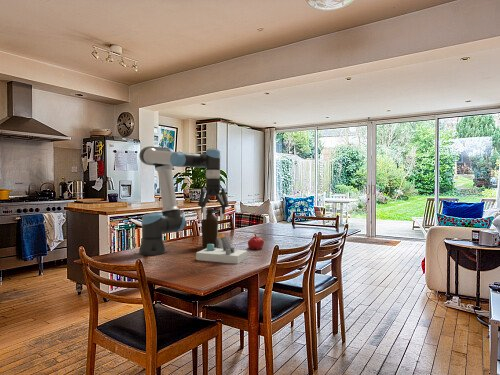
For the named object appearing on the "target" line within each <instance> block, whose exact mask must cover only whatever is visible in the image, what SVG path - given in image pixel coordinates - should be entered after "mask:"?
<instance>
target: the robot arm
mask: <svg viewBox="0 0 500 375" xmlns="http://www.w3.org/2000/svg"><path fill="white" fill-rule="evenodd" d="M138 157H139V160H140V161H141V162H142V163H143V164H144V165H147V166H154V170H155V171H156V172H157V175H158V181H159V182H158V183H159V189H160V196H161V204H162V210H161V211H156V212H148V213H145V214H143V215H142V216H141V217H142V218H141V243H140V246H139V248H138V254H139V255H141V254H142V256H156V255H163V254H165V253H166V252H167V249H166V245H165V242H164V239H163V238H164V237H163V235H164V234H169V233H170V234H171V233H178V232H181V231H182V230H183V229H185V225H186V216H185V214H184V213H183V212H181V209H180V208H179V207H178V204H177V196H176V190H175V183H174V176H173V169H174V167H177V168H197V169H198V168H199V169H200V168H205V170H206V171H205V174H206V175H205V177H206V179H205V187H202V188H201V187H200V195H199V199H198V204H197V206H198V207H200V208H201V209H200V211H201V214H202V219H206V214H207V206H206V205H207V203H208V202H209V199H210V197H211V196H215V198H217V201H218V203H219V205H220V206H221V207H220V209H219V210H220V213H219V218H220V221H223V220H224V219H225V218H224V216H225V215H224V214H226V208H227V207H229V206H230V205H229V201H228V198H227V193H226V192H227V191H226V190H227V189H226V188H222V187H221V151H220V150H219V149H217V148H208V149H207V148H206V150H205V153H193V152H192V153H191V152H183V151H182V152H181V151H174V150H173V149H172V148H171V147H170V148H169V147H166V146H165V147H164V146H163V147H160V146H145V147H143V148H142V149H141V150H140V151H139V156H138ZM220 192H221V194H220ZM205 193H206V194H205Z"/></svg>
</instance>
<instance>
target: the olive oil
mask: <svg viewBox="0 0 500 375" xmlns="http://www.w3.org/2000/svg"><path fill="white" fill-rule="evenodd" d="M200 223H201V224H200V225H201V238H202V239H201V241H202V242H201V244H202V248H204V249H206V248H207V244H214V248H217V246H216V241H215V240H217V239H218V231H219V229H218V228H219V222H218V218H217V217H216V216H215V214H214V213H213V208H212V207H206V219H203V218H202V220H201V222H200Z"/></svg>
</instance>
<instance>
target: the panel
mask: <svg viewBox="0 0 500 375" xmlns="http://www.w3.org/2000/svg"><path fill="white" fill-rule="evenodd" d="M231 249H232V252H231ZM231 249H226V250H223V249H219V248H217V247H214V251H207V248H204V249H202V250H199V251H197V252H196V253H195V257H196V259H195V260H196V261H203V262H204V261H205V262H214V263H225V264H236V265H238V264H241V262H243V261H245V260H246V259H248V250H242V249H241V250H240V249H235V247H234V246H231Z"/></svg>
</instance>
